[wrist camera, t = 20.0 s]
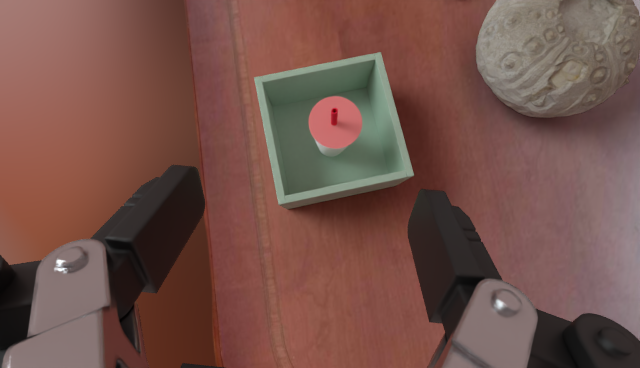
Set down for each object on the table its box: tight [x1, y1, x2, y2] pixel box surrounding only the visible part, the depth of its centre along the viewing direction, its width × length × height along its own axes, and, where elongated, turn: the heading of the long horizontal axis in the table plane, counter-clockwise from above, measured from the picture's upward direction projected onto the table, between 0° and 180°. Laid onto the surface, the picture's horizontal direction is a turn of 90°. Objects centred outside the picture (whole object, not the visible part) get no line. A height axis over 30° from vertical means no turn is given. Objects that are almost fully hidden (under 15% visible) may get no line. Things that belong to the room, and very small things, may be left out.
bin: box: [254, 52, 414, 209], centre depth 34 cm, size 15×15×7 cm
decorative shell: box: [476, 0, 640, 118], centre depth 34 cm, size 18×18×10 cm
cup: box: [309, 96, 362, 157], centre depth 31 cm, size 5×5×12 cm
